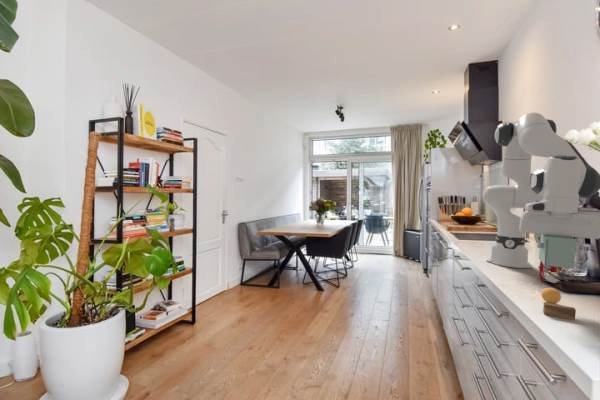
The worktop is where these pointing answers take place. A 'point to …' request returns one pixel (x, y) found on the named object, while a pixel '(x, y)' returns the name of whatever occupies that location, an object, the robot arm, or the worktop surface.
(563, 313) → the strip
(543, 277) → the soda can
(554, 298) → the ball
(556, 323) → the worktop surface
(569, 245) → the sage green upright block
